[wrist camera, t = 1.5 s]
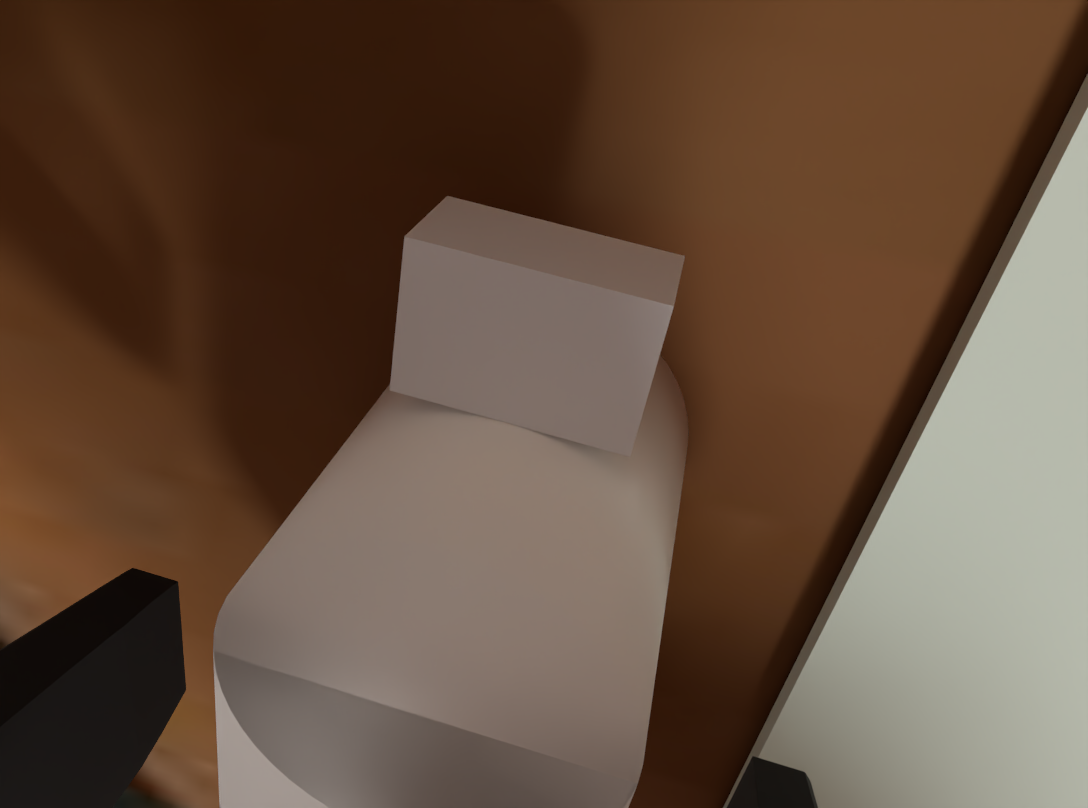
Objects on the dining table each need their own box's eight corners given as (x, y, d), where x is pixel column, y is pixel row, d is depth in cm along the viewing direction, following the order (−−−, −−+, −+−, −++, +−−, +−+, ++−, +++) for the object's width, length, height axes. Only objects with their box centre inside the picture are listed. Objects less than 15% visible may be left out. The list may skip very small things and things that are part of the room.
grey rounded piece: (580, 773, 15) (512, 1101, 11) (370, 707, 16) (228, 1001, 12) (766, 214, 10) (767, 454, 6) (432, 132, 10) (197, 299, 6)
